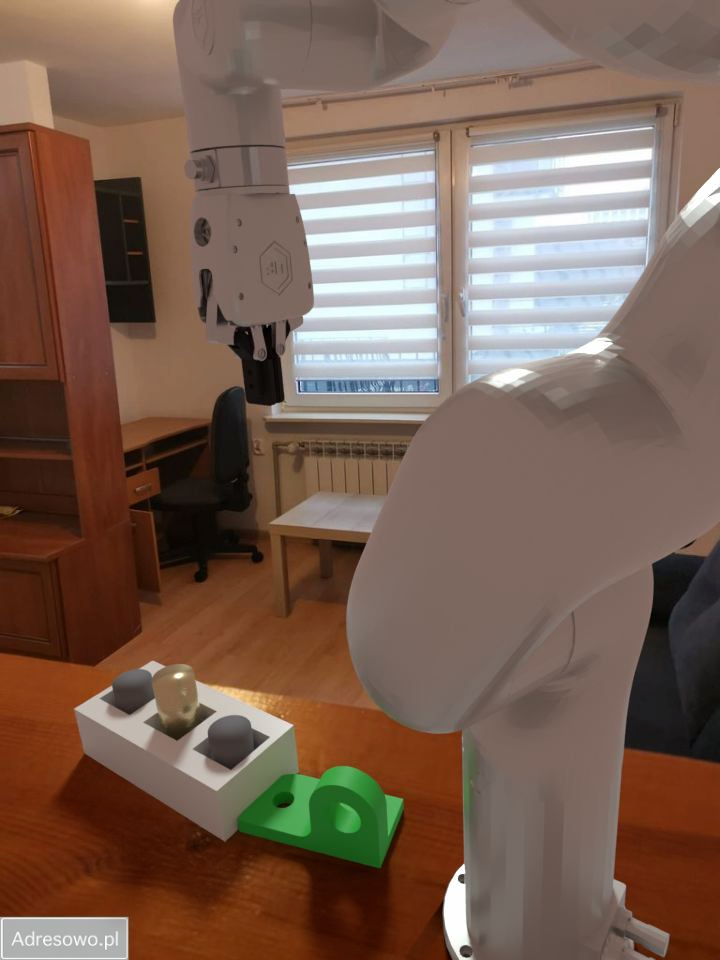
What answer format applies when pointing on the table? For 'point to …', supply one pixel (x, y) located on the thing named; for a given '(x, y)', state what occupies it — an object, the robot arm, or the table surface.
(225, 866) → the table surface
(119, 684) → the far knob
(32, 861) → the table surface
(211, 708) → the white peg holder block
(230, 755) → the near knob
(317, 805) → the mechanical part
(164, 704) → the brass knob
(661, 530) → the robot arm
